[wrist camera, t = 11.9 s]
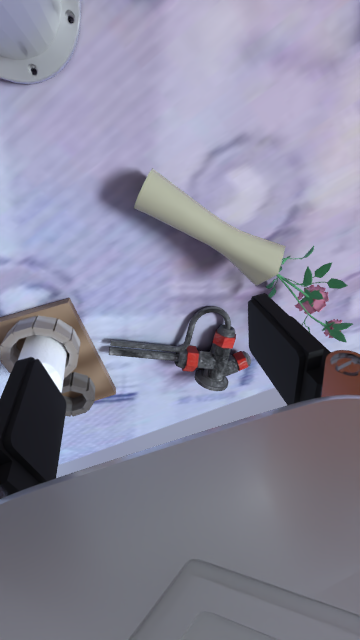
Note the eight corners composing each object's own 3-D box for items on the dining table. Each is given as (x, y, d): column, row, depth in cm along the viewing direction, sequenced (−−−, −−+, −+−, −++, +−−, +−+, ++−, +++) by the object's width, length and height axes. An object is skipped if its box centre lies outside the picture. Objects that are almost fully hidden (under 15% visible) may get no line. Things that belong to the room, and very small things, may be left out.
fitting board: (-14, 321, 38) (-27, 340, 34) (69, 297, 39) (65, 313, 35) (52, 407, 49) (47, 428, 46) (115, 388, 50) (116, 407, 46)
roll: (67, 399, 31) (50, 428, 33) (73, 336, 40) (60, 362, 43) (9, 389, 28) (-5, 422, 30) (31, 324, 38) (19, 352, 40)
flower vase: (159, 167, 39) (333, 280, 48) (122, 243, 40) (299, 340, 49) (171, 125, 28) (397, 283, 36) (118, 232, 29) (351, 361, 37)
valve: (258, 308, 50) (234, 375, 55) (118, 285, 43) (106, 364, 48) (276, 321, 45) (248, 395, 50) (118, 297, 37) (104, 386, 42)
